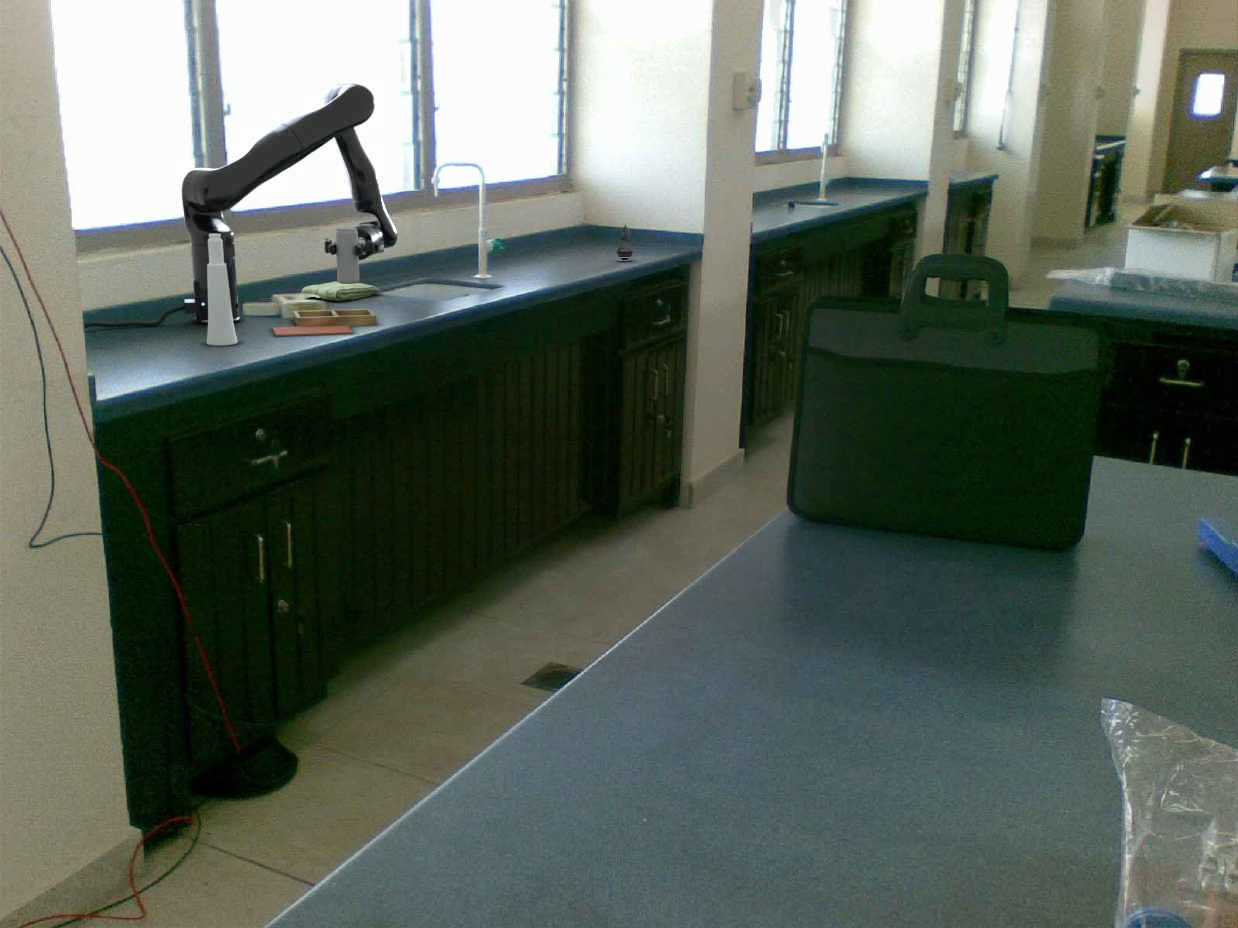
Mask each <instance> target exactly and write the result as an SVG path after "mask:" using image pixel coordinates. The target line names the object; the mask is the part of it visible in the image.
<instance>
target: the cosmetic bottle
mask: <svg viewBox="0 0 1238 928" xmlns="http://www.w3.org/2000/svg"><path fill="white" fill-rule="evenodd" d="M209 237H210V239H208V250H209V264H207V280H208V324H207V336H206V345H209V346H213V347H214V346H215V347H225V346H227V347H228V346H233V345H237V344H238V338H237V334H236V329H235V324H234V323H235V322H233V317H232V309H231V301H230V292H229V283H228V275H227V267H226V264H225V263H224V257H223V242H222V239H220V237H221V234H209Z"/></svg>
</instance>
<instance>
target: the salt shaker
mask: <svg viewBox="0 0 1238 928" xmlns="http://www.w3.org/2000/svg"><path fill="white" fill-rule="evenodd" d="M630 231H631V230H630V228H629V227H628V226H627V224H626V223H625V224H624V226H623V227H621V228H620V237H619V239H620V244H619V248H616V249H615V251H616V255H617V256H618V258H620V257H630V258H632V256H633V254H634V251H635V250H634V249H632V248H631V246H630V245H631V243H630V242H631V241H630V240H631V238H630V233H631V232H630ZM620 259H622V260H628V259H629V258H620Z"/></svg>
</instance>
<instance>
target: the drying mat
mask: <svg viewBox="0 0 1238 928" xmlns="http://www.w3.org/2000/svg"><path fill="white" fill-rule="evenodd" d="M272 331H273V334H274V335H275V337H276V338H277V337H303V336H307V337H308V336H327V335H328V336H330V335H331V336H333V335H336V336H337V335H353V334H354V332H353V330H352V329H351V328H350V326H348V325H333V326H301V327H297V326H276V327H275V326H274V327H272Z"/></svg>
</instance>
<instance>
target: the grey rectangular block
mask: <svg viewBox="0 0 1238 928" xmlns="http://www.w3.org/2000/svg"><path fill="white" fill-rule="evenodd" d="M335 241H336V254H335V257H336V281H337V282H339V283H342V284H356V283H360V260H359V256H356V255H355V246H356V245H358V231H357V228H353V227H348V226H347V227H336V228H335Z"/></svg>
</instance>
